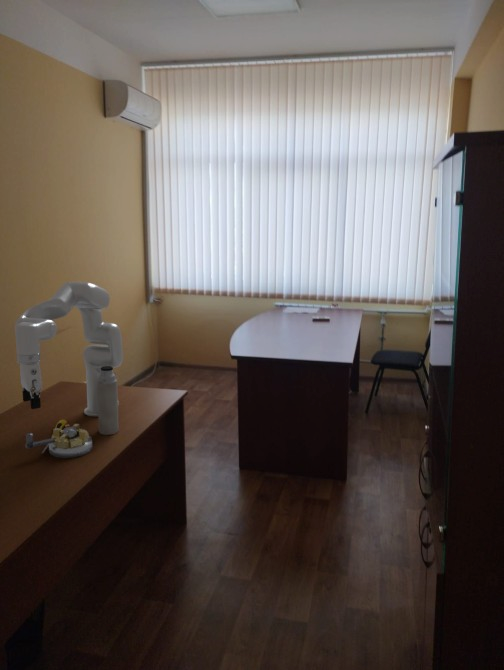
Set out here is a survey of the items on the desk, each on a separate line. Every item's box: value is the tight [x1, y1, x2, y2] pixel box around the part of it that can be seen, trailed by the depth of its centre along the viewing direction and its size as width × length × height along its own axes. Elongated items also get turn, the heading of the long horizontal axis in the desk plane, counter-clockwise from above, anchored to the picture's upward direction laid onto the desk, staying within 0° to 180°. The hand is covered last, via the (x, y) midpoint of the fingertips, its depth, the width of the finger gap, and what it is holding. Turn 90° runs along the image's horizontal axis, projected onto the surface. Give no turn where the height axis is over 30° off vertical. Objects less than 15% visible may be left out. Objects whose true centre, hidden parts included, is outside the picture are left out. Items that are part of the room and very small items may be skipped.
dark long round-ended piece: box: [24, 423, 90, 450], centre depth 204 cm, size 23×13×6 cm, turn 128°
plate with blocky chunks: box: [48, 423, 93, 459], centre depth 208 cm, size 16×18×8 cm
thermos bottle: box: [97, 366, 120, 436], centre depth 223 cm, size 8×8×28 cm
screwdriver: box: [40, 419, 68, 456], centre depth 215 cm, size 3×3×30 cm
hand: (31, 404), depth 192 cm, fingers open, 8 cm apart
